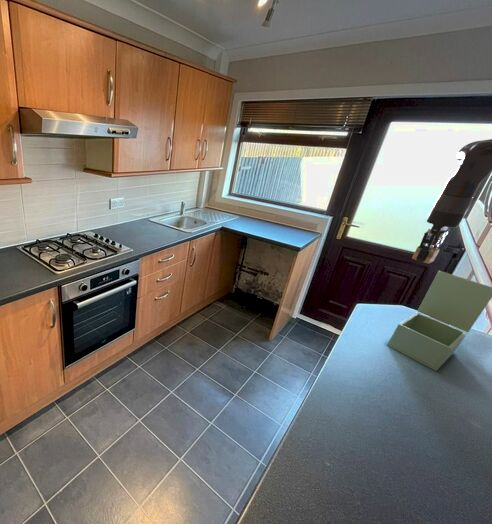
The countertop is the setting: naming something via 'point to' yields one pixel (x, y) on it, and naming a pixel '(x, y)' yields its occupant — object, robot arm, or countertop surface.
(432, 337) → the green hinged box
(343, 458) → the countertop surface
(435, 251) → the block
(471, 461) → the countertop surface
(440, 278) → the lid
